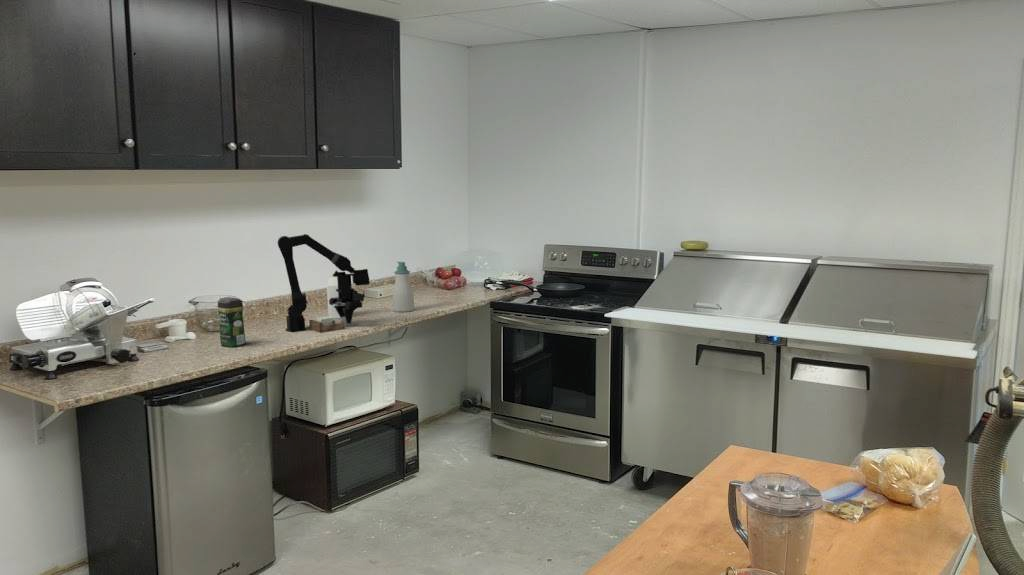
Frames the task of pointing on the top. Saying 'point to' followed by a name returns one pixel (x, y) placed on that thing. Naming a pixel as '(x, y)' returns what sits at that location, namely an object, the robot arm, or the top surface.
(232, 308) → the coffee jar
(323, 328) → the walnut lane
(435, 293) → the top surface
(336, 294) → the milk carton
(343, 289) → the robot arm
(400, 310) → the soap bottle
